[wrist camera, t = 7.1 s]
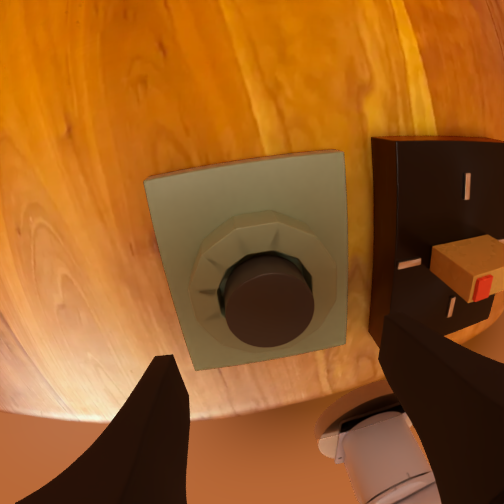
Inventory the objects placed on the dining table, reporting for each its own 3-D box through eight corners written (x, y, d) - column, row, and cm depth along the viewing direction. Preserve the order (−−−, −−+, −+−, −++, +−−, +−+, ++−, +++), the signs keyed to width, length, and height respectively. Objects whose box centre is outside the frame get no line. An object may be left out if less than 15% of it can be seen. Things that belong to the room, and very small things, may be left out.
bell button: (306, 317, 15) (315, 339, 13) (231, 330, 15) (233, 354, 13) (302, 248, 13) (313, 265, 12) (217, 261, 13) (217, 281, 12)
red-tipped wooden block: (487, 233, 14) (531, 260, 11) (484, 255, 15) (525, 284, 12) (431, 245, 14) (477, 279, 11) (429, 270, 15) (471, 306, 11)
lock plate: (469, 301, 20) (489, 319, 17) (368, 331, 19) (384, 357, 17) (487, 137, 15) (516, 143, 12) (370, 136, 14) (397, 141, 12)
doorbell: (339, 332, 19) (356, 364, 16) (195, 358, 18) (193, 393, 16) (335, 149, 15) (361, 156, 12) (148, 176, 14) (132, 189, 11)
